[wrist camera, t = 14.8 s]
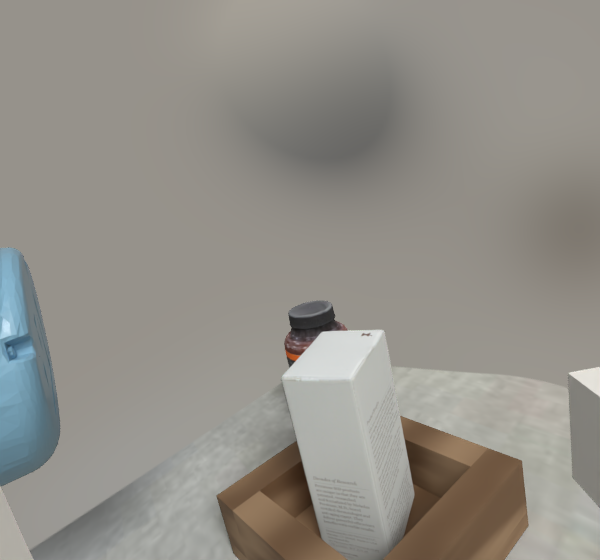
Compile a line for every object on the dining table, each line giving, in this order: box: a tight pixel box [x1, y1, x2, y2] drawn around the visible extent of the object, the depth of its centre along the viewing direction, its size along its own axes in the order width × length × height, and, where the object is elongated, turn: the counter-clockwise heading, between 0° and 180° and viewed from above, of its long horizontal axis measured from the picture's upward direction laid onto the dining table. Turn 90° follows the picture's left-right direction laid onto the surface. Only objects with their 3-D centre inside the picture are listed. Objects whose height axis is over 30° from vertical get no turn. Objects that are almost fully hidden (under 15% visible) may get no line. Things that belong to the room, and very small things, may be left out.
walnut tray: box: [217, 416, 528, 560], centre depth 27 cm, size 13×13×4 cm
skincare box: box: [281, 330, 415, 560], centre depth 25 cm, size 6×4×12 cm
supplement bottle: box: [284, 301, 348, 368], centre depth 40 cm, size 6×6×11 cm
